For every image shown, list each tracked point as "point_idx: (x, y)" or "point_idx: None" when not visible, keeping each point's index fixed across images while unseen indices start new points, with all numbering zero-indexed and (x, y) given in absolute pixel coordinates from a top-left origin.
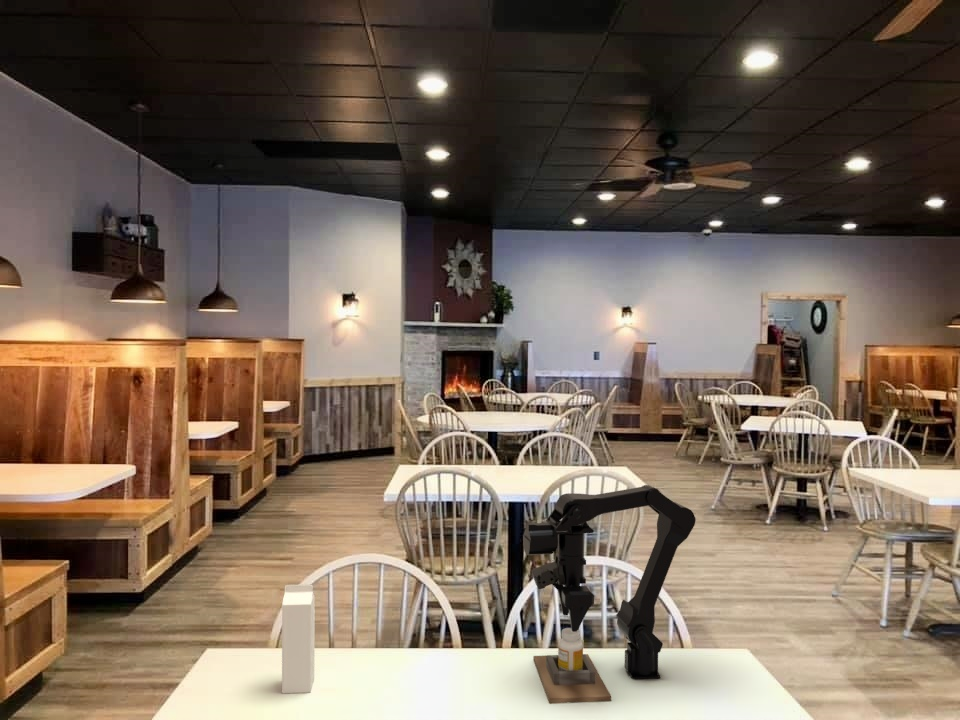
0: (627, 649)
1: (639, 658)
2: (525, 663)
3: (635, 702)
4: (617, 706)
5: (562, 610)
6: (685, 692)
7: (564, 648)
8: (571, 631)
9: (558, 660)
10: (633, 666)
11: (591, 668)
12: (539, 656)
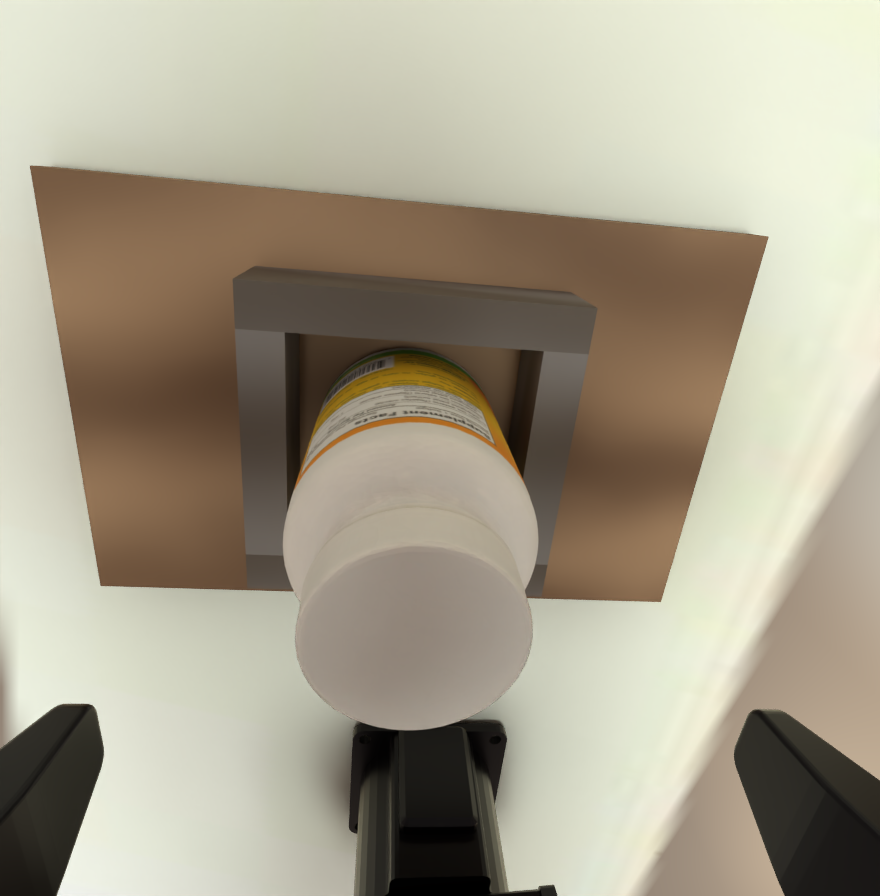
0: (470, 835)
1: (367, 851)
2: (721, 151)
3: (106, 671)
4: (51, 581)
5: (809, 762)
6: (214, 864)
7: (315, 466)
8: (409, 652)
9: (415, 376)
10: (390, 778)
11: None
12: (741, 283)
